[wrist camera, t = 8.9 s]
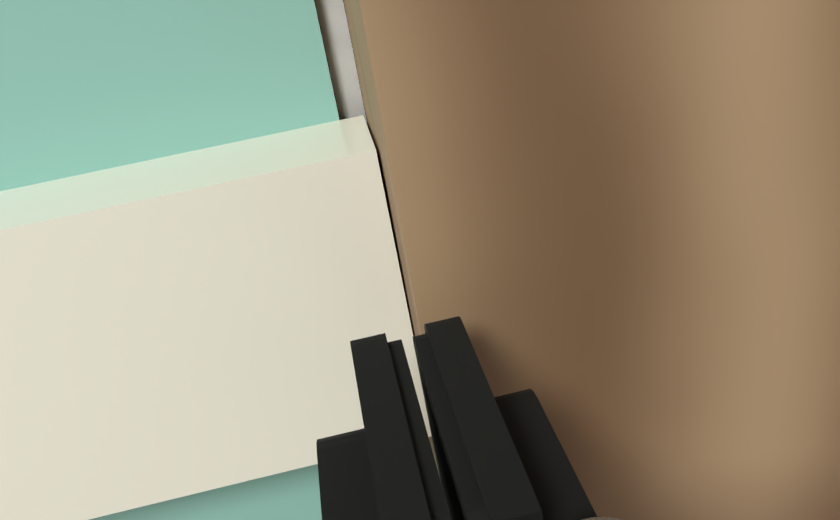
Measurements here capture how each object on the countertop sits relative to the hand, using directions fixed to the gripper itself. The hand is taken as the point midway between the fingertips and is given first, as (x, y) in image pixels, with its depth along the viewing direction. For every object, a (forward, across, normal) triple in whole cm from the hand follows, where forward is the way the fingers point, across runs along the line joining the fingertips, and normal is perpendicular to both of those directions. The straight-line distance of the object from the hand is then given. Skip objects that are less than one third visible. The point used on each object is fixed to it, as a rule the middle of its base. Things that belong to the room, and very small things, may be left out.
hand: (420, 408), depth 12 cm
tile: (+4, +4, 0) cm, 6 cm away
